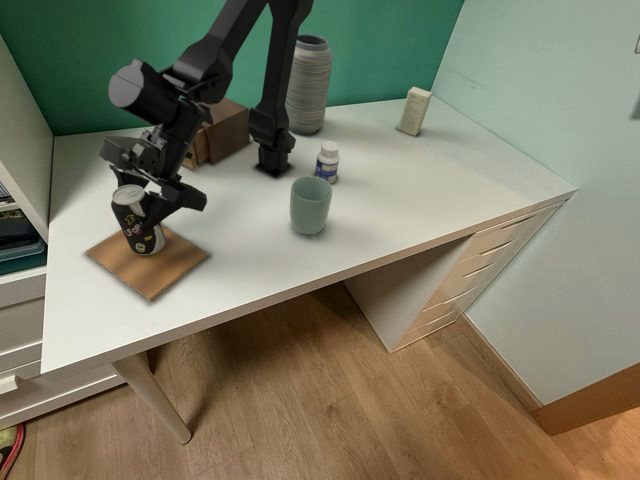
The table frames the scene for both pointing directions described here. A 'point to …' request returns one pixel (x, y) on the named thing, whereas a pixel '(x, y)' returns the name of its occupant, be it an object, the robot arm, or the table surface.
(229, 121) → the cabinet
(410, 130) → the cosmetic box
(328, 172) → the pill bottle
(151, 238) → the beverage can
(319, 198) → the cup
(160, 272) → the wooden board
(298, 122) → the vase
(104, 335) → the table surface
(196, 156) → the drawer
